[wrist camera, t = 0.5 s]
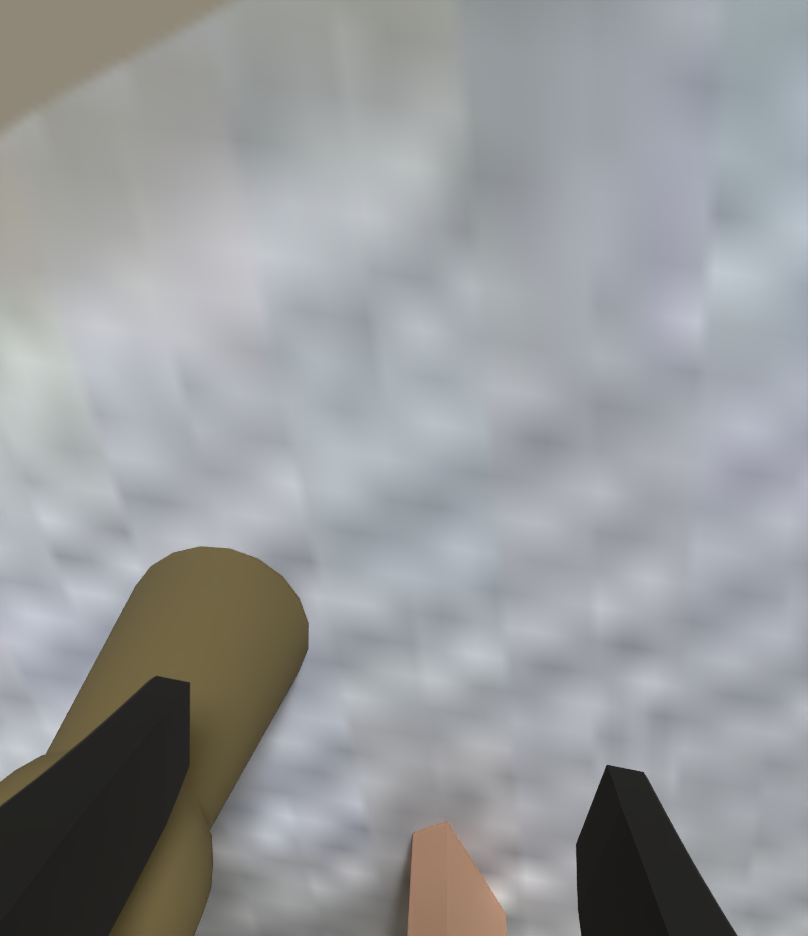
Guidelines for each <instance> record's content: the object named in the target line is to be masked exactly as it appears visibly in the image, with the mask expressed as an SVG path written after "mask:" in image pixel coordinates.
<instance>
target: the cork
mask: <svg viewBox="0 0 808 936" xmlns="http://www.w3.org/2000/svg"><path fill="white" fill-rule="evenodd" d="M308 629H309V623H308V620H307V618H306V615H305V612H304V609H303V606H302V604H301V601H300V598H299V597H298V596H297V594H296V593H295V592H294V591H293V589H292V588H291V587H290V585H289V584H288V583H287V581H286V580H285V579H284V578H283V576H281V575H280V574H279V573H277V572H276V571H274V570H273V569H272V568H270V567H269V566H267V565H266V564H265V563H263V562H262V561H261V560H259V559H257V558H254V557H252V556H249V555H246V554H243V553H241V552H238V551H235V550H232V549H228V548H214V547H196V548H192V549H187V550H183V551H179V552H174V553H172V554H170V555H169V556H167V557H165V558H164V559H162V560H161V561H159V562H157V563H156V564H154V565H152V566H151V567H150V568H149V569H148V571H147V572H146V573H145V575H144V576H143V577H142V578H141V580H140V581H139V582H138V584H137V585H136V586H135V588H134V590H133V592H132V594H131V596H130V598H129V599H128V601H127V603H126V605H125V607H124V609H123V611H122V612H121V614H120V616H119V618H118V620H117V622H116V624H115V626H114V627H113V629H112V631H111V633H110V635H109V637H108V639H107V641H106V642H105V644H104V646H103V648H102V650H101V652H100V654H99V656H98V657H97V659H96V661H95V663H94V665H93V667H92V669H91V670H90V672H89V674H88V676H87V678H86V680H85V682H84V684H83V685H82V687H81V689H80V691H79V693H78V695H77V697H76V699H75V700H74V702H73V704H72V706H71V708H70V710H69V712H68V713H67V715H66V717H65V719H64V721H63V723H62V725H61V727H60V728H59V730H58V732H57V734H56V736H55V738H54V740H53V742H52V743H51V745H50V747H49V749H48V751H47V753H46V755H42V756H40V757H38V758H37V759H35V760H33V761H31V762H29V763H28V764H26V765H24V766H22V767H21V768H19V769H17V770H15V771H14V772H13V773H11V774H10V775H9V776H7V777H6V778H5V779H4V780H2V781H1V782H0V806H1V805H2V804H3V803H5V802H6V801H7V800H9V799H10V798H11V797H12V796H14V795H15V794H16V793H18V792H19V791H20V790H22V789H23V788H24V787H25V786H27V785H28V784H29V783H31V782H32V781H33V780H34V779H36V778H37V777H38V776H40V775H41V774H42V773H43V772H45V771H46V770H47V769H48V768H50V767H51V766H52V765H53V764H54V763H56V762H57V761H58V760H59V759H60V758H62V757H63V756H64V755H65V754H66V753H67V752H69V751H70V750H71V749H72V748H73V747H75V746H76V745H77V744H78V743H79V742H81V741H82V740H83V739H84V738H85V737H87V736H88V735H89V734H90V733H91V732H92V731H93V730H95V729H96V728H97V727H98V726H99V725H100V724H101V723H102V722H104V721H105V720H106V719H107V718H108V717H109V716H110V715H112V714H113V713H114V712H115V711H116V710H117V709H118V708H119V707H120V706H121V705H123V704H124V703H125V702H126V701H127V700H128V699H129V698H130V697H131V696H132V695H133V694H135V693H136V692H137V691H138V690H139V689H140V688H141V687H142V686H143V685H144V684H145V683H146V682H148V681H149V680H150V679H151V678H153V677H155V676H161V677H166V678H171V679H176V680H181V681H186V682H190V766H189V768H188V771H187V774H186V776H185V779H184V782H183V784H182V787H181V789H180V792H179V795H178V797H177V800H176V802H175V805H174V807H173V810H172V812H171V814H170V817H169V819H168V822H167V824H166V826H165V828H164V830H163V832H162V834H161V836H160V838H159V840H158V842H157V844H156V846H155V848H154V850H153V852H152V854H151V856H150V857H149V859H148V861H147V863H146V865H145V867H144V869H143V871H142V873H141V875H140V877H139V879H138V880H137V882H136V884H135V886H134V888H133V890H132V892H131V894H130V896H129V898H128V899H127V901H126V903H125V905H124V907H123V909H122V911H121V913H120V915H119V917H118V918H117V920H116V922H115V924H114V926H113V928H112V930H111V932H110V934H109V936H194V934H195V932H196V929H197V927H198V924H199V922H200V919H201V917H202V914H203V911H204V908H205V905H206V902H207V899H208V896H209V893H210V890H211V883H212V869H213V852H212V835H211V833H210V829H211V827H212V825H213V823H214V822H215V820H216V818H217V816H218V814H219V813H220V811H221V809H222V807H223V805H224V804H225V802H226V800H227V798H228V797H229V795H230V793H231V791H232V789H233V788H234V786H235V784H236V782H237V781H238V779H239V777H240V775H241V773H242V772H243V770H244V768H245V766H246V765H247V763H248V761H249V759H250V757H251V756H252V754H253V752H254V750H255V749H256V747H257V745H258V743H259V741H260V740H261V738H262V736H263V734H264V732H265V731H266V729H267V727H268V725H269V724H270V722H271V720H272V718H273V716H274V715H275V713H276V711H277V709H278V708H279V706H280V704H281V702H282V700H283V699H284V697H285V695H286V693H287V692H288V690H289V688H290V686H291V684H292V683H293V681H294V679H295V677H296V675H297V674H298V672H299V670H300V668H301V665H302V663H303V660H304V658H305V655H306V653H307V650H308Z"/></svg>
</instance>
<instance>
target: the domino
mask: <svg viewBox="0 0 808 936" xmlns="http://www.w3.org/2000/svg"><path fill="white" fill-rule="evenodd" d="M407 936H507V925H506V913H505V911H504V910H503V908H502V907H501V905H500V903H499V902H498V900H497V899H496V897H495V895H494V894H493V892H492V891H491V889H490V888H489V886H488V884H487V883H486V881H485V880H484V878H483V877H482V875H481V873H480V872H479V870H478V869H477V867H476V865H475V864H474V862H473V861H472V859H471V858H470V856H469V854H468V853H467V851H466V850H465V848H464V847H463V845H462V843H461V842H460V840H459V839H458V837H457V836H456V834H455V832H454V831H453V829H452V828H451V826H450V824H449V823H448V821H445V822H443V823H440V824H437V825H434V826H431V827H428V828H426V829H423V830H420V831H417V832H414V833H413V842H412V861H411V879H410V898H409V917H408V935H407Z"/></svg>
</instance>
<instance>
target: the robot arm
mask: <svg viewBox="0 0 808 936" xmlns="http://www.w3.org/2000/svg"><path fill="white" fill-rule="evenodd" d="M189 766H190V682H186V681H181V680H176V679H171V678H166V677H161V676H155V677H153V678H151V679H150V680H149V681H148V682H146V683H145V684H144V685H143V686H142V687H141V688H140V689H139V690H138V691H137V692H136V693H135V694H133V695H132V696H131V697H130V698H129V699H128V700H127V701H126V702H125V703H124V704H123V705H121V706H120V707H119V708H118V709H117V710H116V711H115V712H114V713H113V714H112V715H110V716H109V717H108V718H107V719H106V720H105V721H104V722H102V723H101V724H100V725H99V726H98V727H97V728H96V729H95V730H93V731H92V732H91V733H90V734H89V735H88V736H87V737H85V738H84V739H83V740H82V741H81V742H79V743H78V744H77V745H76V746H75V747H73V748H72V749H71V750H70V751H69V752H67V753H66V754H65V755H64V756H63V757H62V758H60V759H59V760H58V761H57V762H56V763H54V764H53V765H52V766H51V767H50V768H48V769H47V770H46V771H45V772H43V773H42V774H41V775H40V776H38V777H37V778H36V779H34V780H33V781H32V782H31V783H29V784H28V785H27V786H25V787H24V788H23V789H22V790H20V791H19V792H18V793H16V794H15V795H14V796H12V797H11V798H10V799H9V800H7V801H6V802H5V803H3V804H2V805H1V806H0V936H109V934H110V932H111V930H112V928H113V926H114V924H115V922H116V920H117V918H118V917H119V915H120V913H121V911H122V909H123V907H124V905H125V903H126V901H127V899H128V898H129V896H130V894H131V892H132V890H133V888H134V886H135V884H136V882H137V880H138V879H139V877H140V875H141V873H142V871H143V869H144V867H145V865H146V863H147V861H148V859H149V857H150V856H151V854H152V852H153V850H154V848H155V846H156V844H157V842H158V840H159V838H160V836H161V834H162V832H163V830H164V828H165V826H166V824H167V822H168V819H169V817H170V814H171V812H172V810H173V807H174V805H175V802H176V800H177V797H178V795H179V792H180V789H181V787H182V784H183V782H184V779H185V776H186V774H187V771H188V768H189ZM576 858H577V893H578V913H579V920H580V928H581V935H582V936H737V934H736V933H735V931H734V929H733V928H732V926H731V925H730V923H729V921H728V920H727V918H726V917H725V915H724V913H723V912H722V910H721V908H720V907H719V905H718V903H717V902H716V900H715V898H714V897H713V895H712V893H711V891H710V890H709V888H708V886H707V885H706V883H705V881H704V880H703V878H702V876H701V875H700V873H699V871H698V870H697V868H696V866H695V864H694V863H693V861H692V859H691V857H690V856H689V854H688V852H687V850H686V848H685V847H684V845H683V843H682V841H681V839H680V838H679V836H678V834H677V832H676V830H675V829H674V827H673V825H672V823H671V821H670V819H669V817H668V816H667V814H666V812H665V810H664V808H663V806H662V804H661V803H660V801H659V799H658V797H657V795H656V793H655V791H654V789H653V788H652V786H651V784H650V782H649V780H648V778H647V777H646V775H645V774H644V772H640V771H635V770H630V769H625V768H620V767H615V766H610V765H607V766H606V768H605V771H604V774H603V776H602V779H601V781H600V784H599V786H598V789H597V792H596V794H595V797H594V799H593V802H592V805H591V807H590V810H589V812H588V815H587V817H586V820H585V823H584V825H583V828H582V830H581V833H580V836H579V838H578V841H577V843H576Z"/></svg>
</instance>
